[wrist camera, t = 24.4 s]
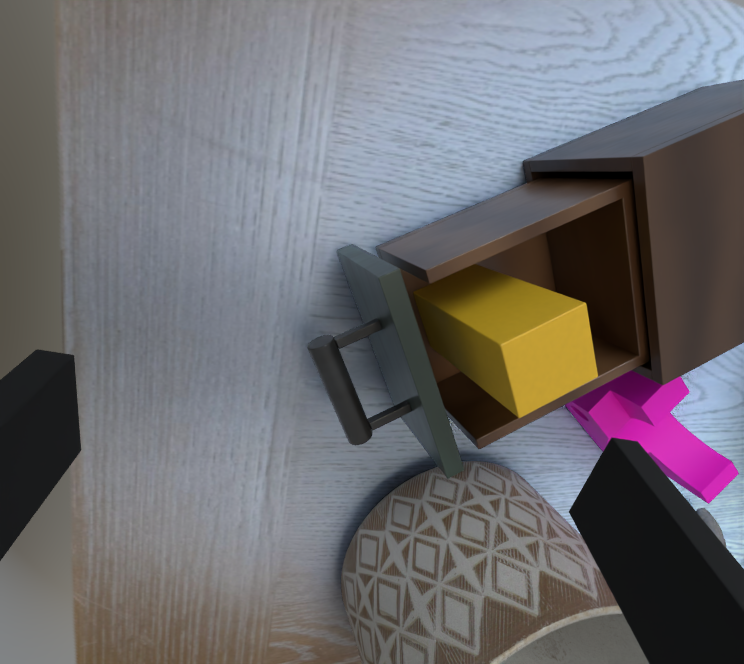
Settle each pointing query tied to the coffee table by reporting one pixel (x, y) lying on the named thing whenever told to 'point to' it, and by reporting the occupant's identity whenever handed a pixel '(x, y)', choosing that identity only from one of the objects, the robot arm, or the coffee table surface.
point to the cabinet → (677, 217)
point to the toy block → (653, 430)
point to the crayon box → (509, 336)
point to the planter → (478, 578)
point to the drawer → (504, 255)
